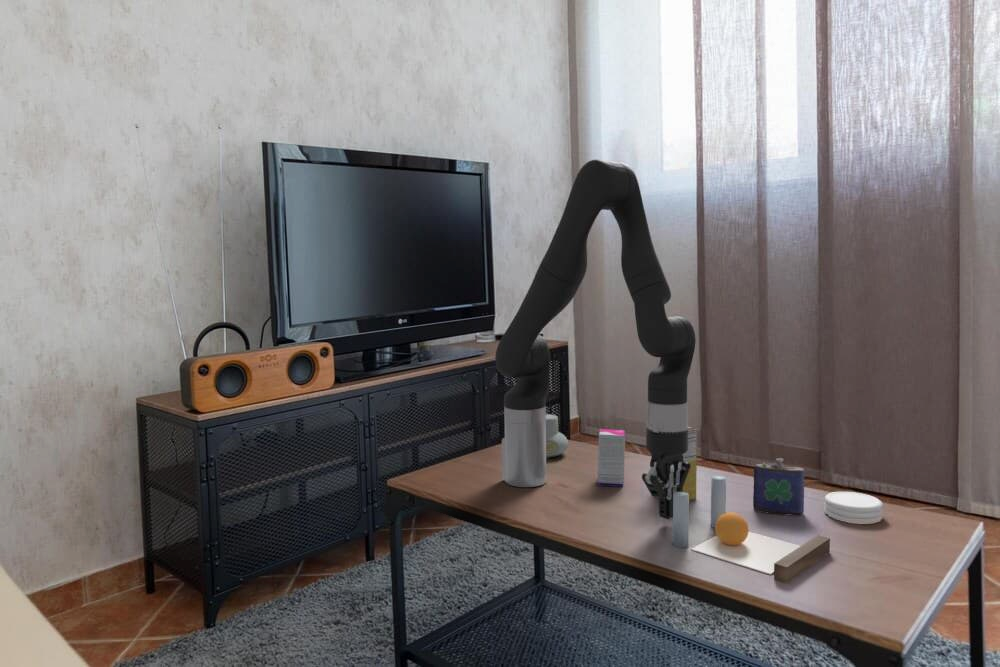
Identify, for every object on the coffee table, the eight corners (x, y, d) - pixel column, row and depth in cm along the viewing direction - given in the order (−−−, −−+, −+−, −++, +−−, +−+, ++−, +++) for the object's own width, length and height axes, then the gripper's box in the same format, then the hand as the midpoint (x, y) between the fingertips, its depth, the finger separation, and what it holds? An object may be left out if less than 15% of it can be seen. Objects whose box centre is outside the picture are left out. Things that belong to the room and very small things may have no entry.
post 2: (708, 525, 132) (708, 478, 131) (715, 522, 134) (716, 475, 133) (720, 529, 130) (721, 481, 130) (728, 525, 132) (728, 478, 131)
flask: (803, 512, 139) (804, 458, 138) (804, 517, 136) (805, 462, 135) (753, 507, 142) (754, 454, 141) (752, 512, 139) (753, 458, 138)
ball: (730, 556, 121) (704, 534, 124) (746, 546, 125) (720, 526, 128) (743, 531, 119) (716, 510, 122) (759, 522, 122) (732, 502, 126)
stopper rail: (773, 579, 110) (774, 563, 110) (817, 549, 121) (817, 535, 121) (786, 583, 108) (787, 567, 108) (829, 552, 119) (830, 538, 119)
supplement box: (624, 486, 156) (624, 435, 155) (597, 485, 157) (597, 434, 156) (625, 478, 162) (625, 429, 161) (598, 477, 163) (598, 428, 162)
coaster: (837, 526, 132) (837, 507, 132) (816, 507, 142) (816, 490, 142) (892, 526, 131) (893, 507, 131) (867, 507, 141) (868, 490, 141)
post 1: (669, 544, 124) (670, 494, 123) (678, 540, 125) (678, 490, 125) (683, 549, 122) (683, 497, 121) (691, 544, 124) (691, 494, 123)
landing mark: (691, 550, 121) (691, 548, 121) (732, 528, 131) (732, 527, 131) (770, 575, 111) (770, 573, 111) (809, 549, 121) (809, 548, 121)
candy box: (652, 490, 153) (652, 420, 152) (668, 487, 155) (668, 418, 154) (681, 502, 145) (682, 429, 144) (697, 499, 147) (698, 426, 146)
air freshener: (568, 451, 186) (568, 413, 185) (567, 459, 178) (567, 420, 177) (527, 450, 188) (526, 412, 187) (523, 458, 180) (523, 419, 179)
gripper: (669, 417, 138) (669, 504, 140) (628, 428, 129) (628, 521, 131) (704, 422, 133) (703, 513, 135) (664, 435, 124) (663, 532, 126)
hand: (666, 517), depth 133 cm, fingers closed
